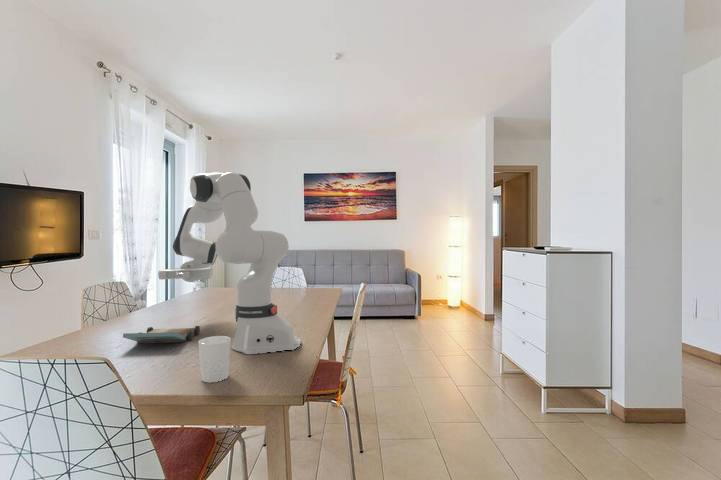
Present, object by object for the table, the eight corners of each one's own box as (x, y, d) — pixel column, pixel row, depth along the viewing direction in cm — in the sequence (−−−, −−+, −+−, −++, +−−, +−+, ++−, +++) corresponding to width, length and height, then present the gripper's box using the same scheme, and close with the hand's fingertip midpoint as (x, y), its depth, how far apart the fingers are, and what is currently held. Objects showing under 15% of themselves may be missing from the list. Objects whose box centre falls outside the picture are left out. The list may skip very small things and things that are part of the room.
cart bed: (200, 333, 143) (200, 324, 143) (189, 341, 131) (188, 332, 131) (151, 334, 141) (151, 325, 141) (135, 343, 129) (135, 334, 129)
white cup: (224, 384, 93) (224, 344, 93) (192, 383, 93) (192, 344, 93) (235, 372, 101) (235, 335, 101) (206, 372, 101) (206, 335, 101)
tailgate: (185, 336, 131) (175, 332, 121) (185, 341, 130) (174, 337, 121) (137, 337, 129) (123, 333, 120) (136, 343, 128) (122, 339, 119)
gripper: (165, 265, 158) (150, 269, 144) (215, 262, 160) (205, 266, 146) (166, 279, 158) (151, 285, 144) (216, 277, 160) (206, 282, 147)
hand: (179, 275), depth 145 cm, fingers closed
